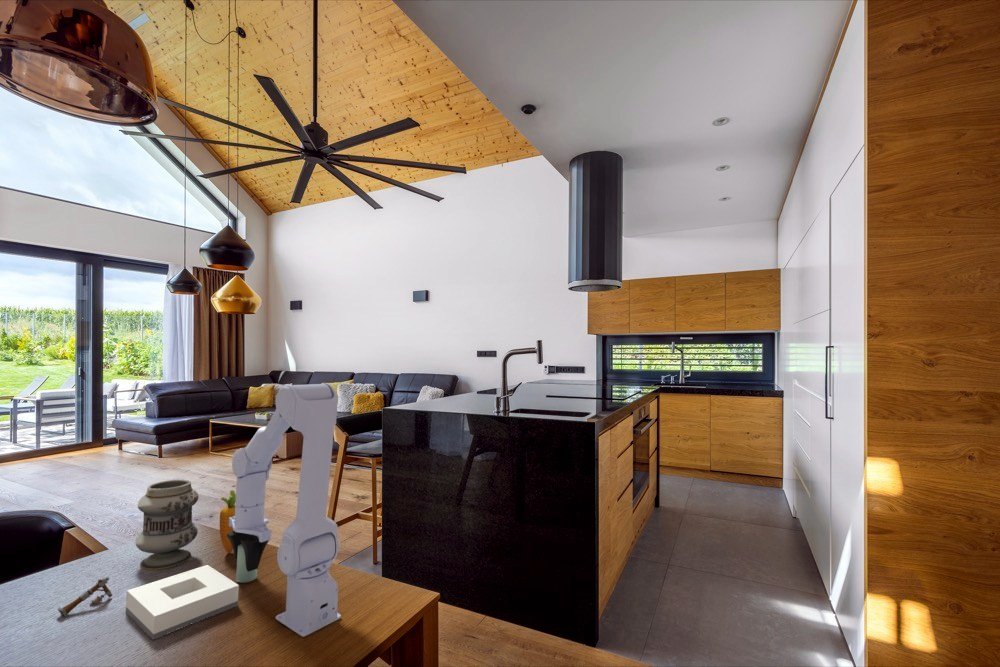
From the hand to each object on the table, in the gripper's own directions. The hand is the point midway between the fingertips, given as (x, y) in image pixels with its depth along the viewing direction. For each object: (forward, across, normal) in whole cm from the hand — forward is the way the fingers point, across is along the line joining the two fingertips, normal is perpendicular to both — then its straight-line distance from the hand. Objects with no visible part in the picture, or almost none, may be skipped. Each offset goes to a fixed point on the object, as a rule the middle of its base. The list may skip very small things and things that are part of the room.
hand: (247, 566), depth 102 cm
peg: (+2, 0, 0) cm, 2 cm away
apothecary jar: (+3, +24, +7) cm, 25 cm away
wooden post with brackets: (+3, +13, +24) cm, 28 cm away
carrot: (+3, +17, -4) cm, 18 cm away
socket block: (+3, -2, +13) cm, 13 cm away
